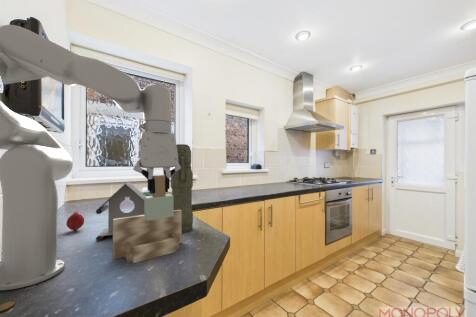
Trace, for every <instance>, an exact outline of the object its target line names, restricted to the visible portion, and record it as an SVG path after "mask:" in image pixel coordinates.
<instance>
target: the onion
mask: <svg viewBox="0 0 476 317" xmlns="http://www.w3.org/2000/svg"><path fill="white" fill-rule="evenodd" d="M84 223H85V217H84V216H83V215H82V214H81V213H79V211H77V210H76V211H74V212H73V214H71V215H70V216H68V218H67V219H66V227H67V228H68V229H69V230H71V231H74V232H76V231H78V230H79V229H81V228H82V226H84Z"/></svg>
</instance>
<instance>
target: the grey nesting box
mask: <svg viewBox="0 0 476 317" xmlns="http://www.w3.org/2000/svg"><path fill="white" fill-rule="evenodd" d="M126 197H127V198H129V200H130V201H131V202H133V205H134V207H133V209H132V210H131V211H129V212H124V211H122V209H121V204H122V203H123V202H124V201H125V200H126ZM144 197H146V196H145V195H144V194H143V193H142V191H141V190H140V189H138V187H136V186H135V185H134V184H133V183H131V182H130V181H128V182H126V183H124V184H123V185H122V186H121V187H120V188H119V189H118V190H116V191H115V192H114V193H113V194H112V195H111V196H110V197H109V198H107V200H106V201H105V202H103V204H102V205H100V206H99V207H98V208H97V209H96V210H95V214H96V215H101V214H102V213H103V212H105V211H106V210H108V218H107V219H108V222H107V223H108V224H107V225H108V228H104V229H103V230H101V232H100V233H99V234H98V235H97V236H96V237H95V241H96V242H100V241H102V240H103V238H105V236H106V237H107V236H113V219H116V218H123V217H131V216H138V215H145V212H144ZM107 203H108V204H107Z"/></svg>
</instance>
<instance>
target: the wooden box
mask: <svg viewBox="0 0 476 317" xmlns="http://www.w3.org/2000/svg"><path fill="white" fill-rule="evenodd" d="M180 244H182V210H174V216H173V217H167V218H161V219H155V220H150V221H148V220H147V219H145V215H138V216H131V217H123V218H116V219H113V235H112V259H113V260H116V259H120V258H125V260H126V262H127V263H128V264H129V263H133V264H135V263H139V262H144V261H146V260H147V261H148V260H151V259H154V258H159V257H162V256H166V255H169V254H174V253H177V252H178V251H179V250H180Z"/></svg>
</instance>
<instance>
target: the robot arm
mask: <svg viewBox="0 0 476 317" xmlns="http://www.w3.org/2000/svg"><path fill="white" fill-rule="evenodd" d="M0 51H1V52H0V76H1V79H2V82H3V85H9V84H17V83H21V82H27V81H28V82H29V81H34V80H39V79H44V78H50V79H52V80H54V81H57V82H59V83H61V84H63V85H65V86H67V87H68V86H69V87H72V86H76V85H78V86H82V87H85V88H86V89H90V90H92V91H94V92H96V93H98V94H100V95H103V96H105V97H107V98H108V99H111V100H112V102H114V103H115V105H116V106H117V107H118V109H120V110H121V111H123V112H124V113H128V114H138V113H139V114H141V113H143V122H142V123H138V124H137V127H138V129H141V130H142V132H141V134H140V139H139V146H138V159H137V161H136V162H135V164H134V166H133V168H132V170H133V171H134V172H137V173H139V174H141V175H142V176H143V177H144V178H146V180H147V187H148V191H150V193H152V194H154V193H155V180H154V179H153V175H154V171H155V170H154V169H158V168H159V169H162V172H163V175H165V192H166V193H168V192H169V189H170V179H171V176H172V175H173V173H174V172H176V171H177V170H179V169H181V166H180V164H179V163H178V153H177V140H176V136H175V134H174V133H172V96H171V91H170V89H169V88H168V87H167V86H165V85H161V84H147V85H145V87H143V89H141V88H140V85H139V83H138V81H136V79H134V78H133V77H132V76H130V75H129V74H128V73H126V72H124V71H122V70H120V69H118V68H116V67H114V66H113V65H111V64H108V63H106V62H104V61H103V60H99V59H96V58H93V57H89V56H84V55H79V54H77V53H75V52H73V51H71V50H69V49H67V48H65V47H64V46H61V45H59V44H57V43H56V42H53V41H51V40H49V39H48V38H45V37H44V36H42V35H40V34H38V33H36V32H34V31H31V30H29V29H27V28H26V27H22V26H19V25H16V24H15V25H14V24H4V25H1V26H0ZM0 150H5V152H4V153H3V154H2V155H1V157H0V185H1V186H0V187H1V192H2V193H1V194H2V222H1V223H2V230H1V255H0V256H1V258H0V291H9V290H16V289H22V288H26V287H29V286H33V285H36V284H39V283H42V282H44V281H47V280H48V279H51V278H53V277H55V276H57V275H58V274H60V273H61V272H62V271H63V270H64V269H65V261H64V260H62V259H57V258H58V219H59V217H58V216H59V215H58V214H59V213H58V211H59V204H58V202H59V199H58V190H57V186H56V185H57V184H56V182H57V181H60V180H63V179H64V178H66V177H68V176H69V174H70V173H71V172H72V170H73V158H72V157H71V155H70V154H69V153H68V151H66V149H64V147H63V146H62V145H61V144H60V142H58V141H57V140H56V139H55V137H53V136H52V134H51V133H49V131H48V130H47V129H46V128H45V127H44V126H43V125H42V124H40V123H39V122H37V121H36V120H34V119H31V118H29V117H27V116H25V115H21V114H19V113H17V112H15V111H13V110H11V109H9V107H8V106H6V105H5V104H4V103H3V102H2V101H1V100H0ZM172 167H173V168H172Z"/></svg>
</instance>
